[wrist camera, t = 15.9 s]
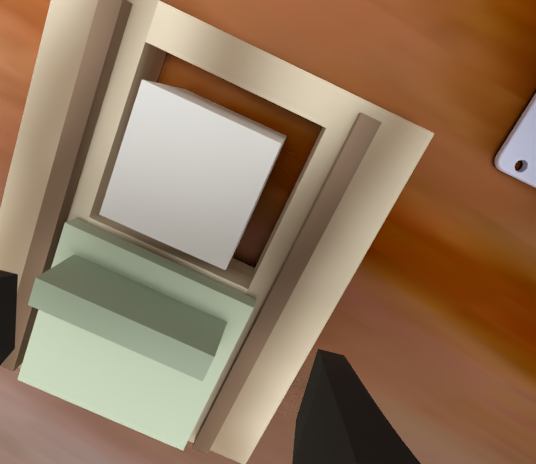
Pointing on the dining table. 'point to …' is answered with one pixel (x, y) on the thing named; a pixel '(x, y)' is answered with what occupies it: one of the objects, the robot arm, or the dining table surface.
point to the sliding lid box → (235, 276)
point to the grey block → (190, 172)
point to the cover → (130, 333)
